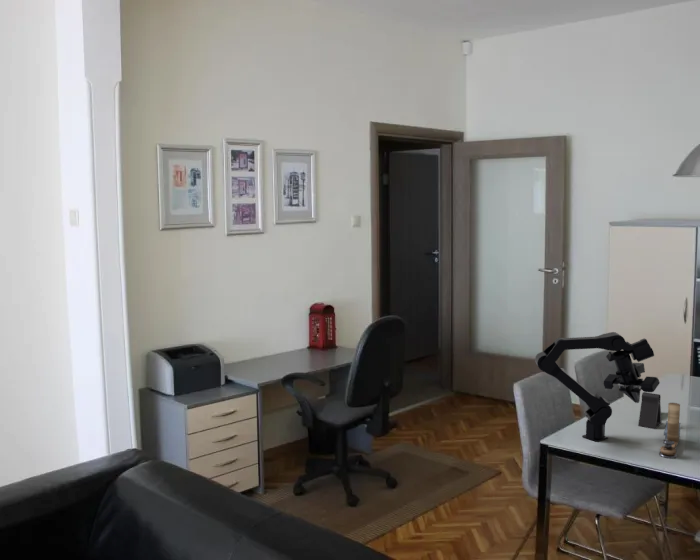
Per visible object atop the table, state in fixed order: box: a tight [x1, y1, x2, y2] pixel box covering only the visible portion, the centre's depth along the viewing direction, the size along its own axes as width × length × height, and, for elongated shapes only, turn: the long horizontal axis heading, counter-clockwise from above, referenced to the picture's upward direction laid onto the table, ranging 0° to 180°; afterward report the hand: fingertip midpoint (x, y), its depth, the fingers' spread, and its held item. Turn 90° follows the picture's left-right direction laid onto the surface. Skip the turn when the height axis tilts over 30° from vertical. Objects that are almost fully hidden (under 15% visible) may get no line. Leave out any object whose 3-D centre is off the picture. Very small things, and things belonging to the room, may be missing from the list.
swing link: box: [659, 402, 681, 456], centre depth 245 cm, size 18×5×14 cm, turn 148°
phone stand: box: [637, 391, 662, 430], centre depth 273 cm, size 9×6×12 cm, turn 141°
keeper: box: [663, 420, 681, 441], centre depth 254 cm, size 7×4×6 cm, turn 150°
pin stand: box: [658, 439, 678, 459], centre depth 240 cm, size 6×6×5 cm
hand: (637, 402), depth 259 cm, fingers closed
